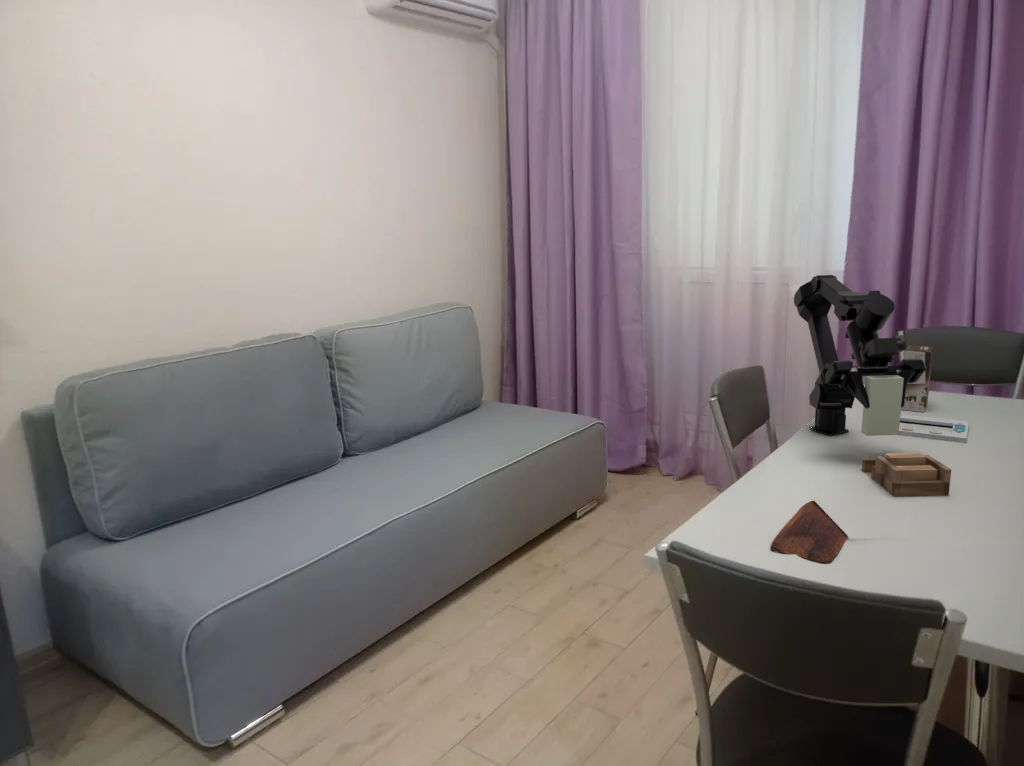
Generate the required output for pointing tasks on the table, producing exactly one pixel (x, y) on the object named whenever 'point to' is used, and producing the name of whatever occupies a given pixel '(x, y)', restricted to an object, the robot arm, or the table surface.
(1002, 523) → the table surface
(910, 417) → the electronic device
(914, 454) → the oak offcut
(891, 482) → the offcut rack
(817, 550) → the wooden tablet
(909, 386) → the coffee box
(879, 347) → the robot arm
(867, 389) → the tall board
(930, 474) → the small oak offcut
